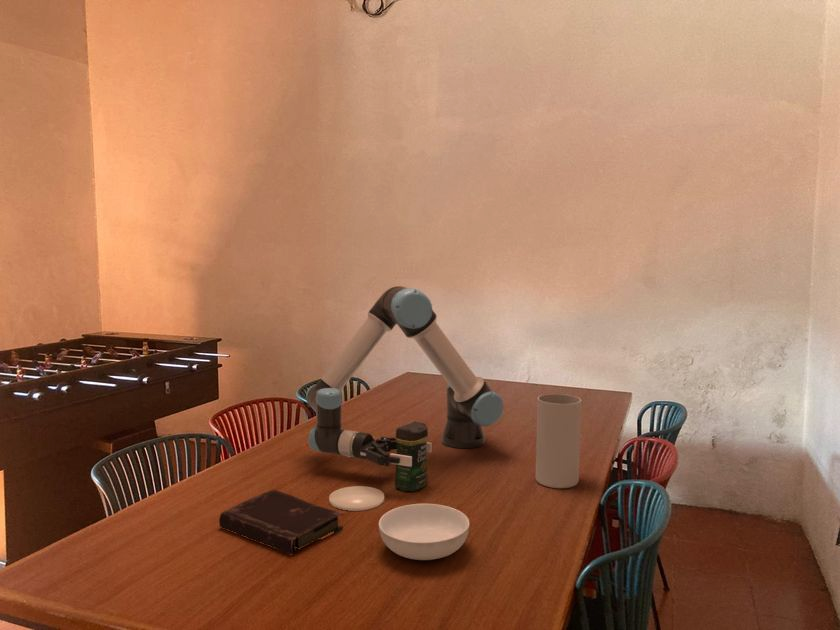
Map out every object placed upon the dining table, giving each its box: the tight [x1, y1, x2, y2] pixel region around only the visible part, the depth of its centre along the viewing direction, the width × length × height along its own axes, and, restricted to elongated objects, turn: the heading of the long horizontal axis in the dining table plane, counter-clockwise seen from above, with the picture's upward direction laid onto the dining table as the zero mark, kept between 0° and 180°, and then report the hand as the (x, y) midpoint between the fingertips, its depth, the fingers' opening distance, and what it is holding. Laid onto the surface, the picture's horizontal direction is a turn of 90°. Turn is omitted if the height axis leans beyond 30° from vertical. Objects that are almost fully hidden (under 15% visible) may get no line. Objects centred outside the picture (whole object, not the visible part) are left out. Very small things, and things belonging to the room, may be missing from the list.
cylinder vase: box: [535, 393, 582, 489], centre depth 196 cm, size 12×12×25 cm
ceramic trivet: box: [328, 485, 385, 512], centre depth 182 cm, size 15×15×1 cm
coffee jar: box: [394, 421, 429, 492], centre depth 192 cm, size 10×8×19 cm
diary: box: [218, 489, 344, 555], centre depth 164 cm, size 19×25×5 cm
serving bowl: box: [378, 503, 470, 561], centre depth 154 cm, size 21×21×7 cm
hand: (421, 454), depth 190 cm, fingers open, 13 cm apart
